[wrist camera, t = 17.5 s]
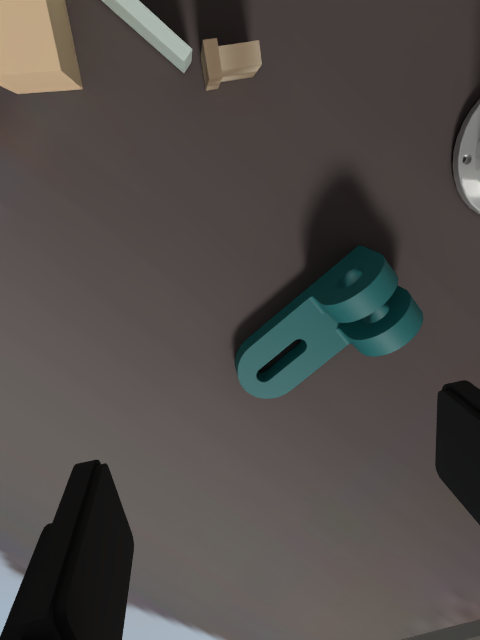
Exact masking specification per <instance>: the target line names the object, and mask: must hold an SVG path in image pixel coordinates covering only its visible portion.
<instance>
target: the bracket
mask: <svg viewBox="0 0 480 640" xmlns="http://www.w3.org/2000/svg"><path fill="white" fill-rule="evenodd" d="M397 284H398V277H397V275H396V274H395V272H394V271H393V269H392V268H391V266H390V265H389V263H388V262H387V261H386V259H385V258H384V256H383V255H382V254H381V253H378V252H376V251H373V250H371V249H368V248H366V247H363V246H361V245H358V246H357V247H356V248H355V249H354V250H353V251H351V252H350V253H349V254H348V255H347V256H345V257H344V258H343V259H342V260H341V261H339V262H338V263H337V264H336V265H335V266H333V267H332V268H331V269H330V270H329V271H327V272H326V273H325V274H324V275H323V276H321V277H320V278H319V279H318V280H317V281H316V282H314V283H313V284H312V285H311V286H310V287H308V288H307V289H306V290H305V291H304V292H302V293H301V294H300V295H299V296H298V297H296V298H295V299H294V300H293V301H292V302H290V303H289V304H288V305H287V306H286V307H285V308H283V309H282V310H281V311H280V312H279V313H277V314H276V315H275V316H274V317H273V318H271V319H270V320H269V321H268V322H267V323H265V324H264V325H263V326H262V327H261V328H259V329H258V330H257V331H256V332H255V333H254V334H252V335H251V336H250V337H249V338H248V339H246V340H245V341H244V342H243V343H242V345H241V346H240V347H239V349H238V351H237V354H236V358H235V367H236V371H237V375H238V378H239V381H240V384H241V385H242V387H243V388H244V389H245V390H246V391H247V392H248V393H249V394H251V395H253V396H255V397H258V398H264V399H270V398H276V397H279V396H282V395H284V394H286V393H288V392H289V391H290V390H292V389H293V388H294V387H295V386H297V385H298V384H299V383H300V382H302V381H303V380H304V379H305V378H307V377H308V376H309V375H310V374H312V373H313V372H314V371H315V370H317V369H318V368H319V367H320V366H322V365H323V364H324V363H325V362H327V361H328V360H329V359H330V358H332V357H333V356H334V355H335V354H337V353H338V352H339V351H340V350H342V349H343V348H344V347H345V346H347V345H348V344H353V345H354V346H355V347H356V348H357V349H358V350H359V352H361V353H362V354H364V355H367V356H381V355H385V354H388V353H391V352H393V351H395V350H397V349H399V348H401V347H402V346H404V345H405V344H407V343H408V342H409V341H410V340H411V339H412V338H413V337H414V336H415V335H416V334H417V332H418V331H419V329H420V327H421V325H422V322H423V313H422V311H421V310H420V308H419V307H418V305H417V304H416V302H415V301H414V299H413V298H412V297H411V295H410V294H409V292H408V291H407V290H405V289H403V288H401V287H399V286H397ZM297 339H301V341H300V343H299V344H298V345H297V346H295V347H294V348H293V349H292V350H291V351H289V352H288V353H287V354H286V355H284V356H283V357H282V358H281V359H280V360H278V361H277V362H276V363H275V364H273V365H272V366H271V367H270V368H269V369H267V370H266V371H265V372H263V373H258V370H259V369H261V368H262V367H263V366H264V365H265V364H267V363H268V362H269V361H270V360H272V359H273V358H274V357H275V356H276V355H278V354H279V353H280V352H281V351H283V350H284V349H285V348H286V347H287V346H289V345H290V344H291V343H292V342H294V341H295V340H297Z"/></svg>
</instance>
